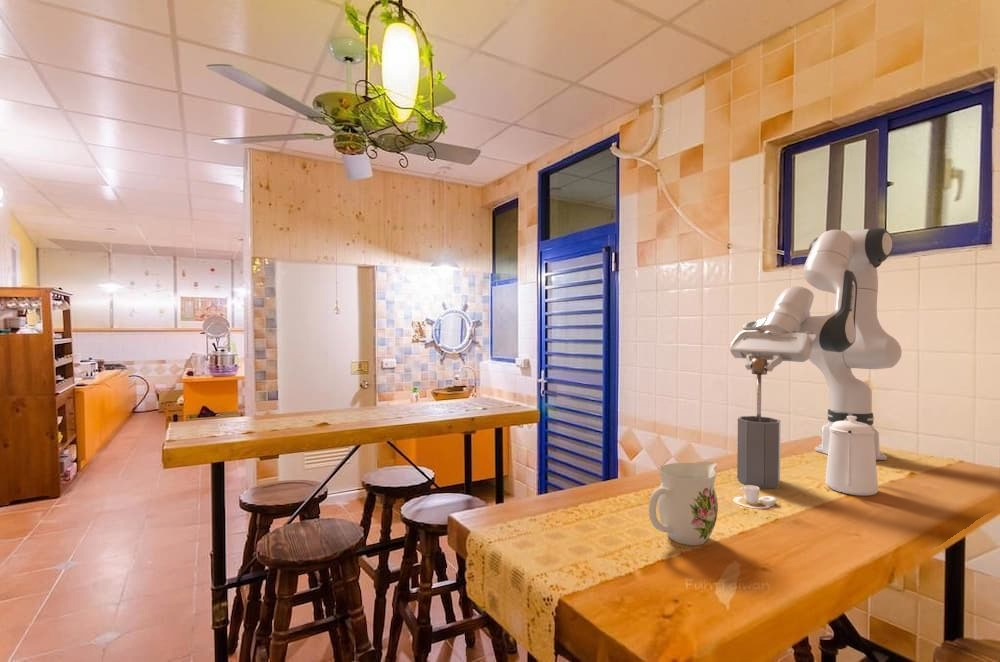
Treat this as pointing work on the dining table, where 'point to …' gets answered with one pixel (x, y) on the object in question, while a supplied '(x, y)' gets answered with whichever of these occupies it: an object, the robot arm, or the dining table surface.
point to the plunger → (758, 381)
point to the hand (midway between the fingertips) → (757, 369)
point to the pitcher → (686, 502)
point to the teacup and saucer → (754, 497)
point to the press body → (758, 452)
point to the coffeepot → (852, 458)
